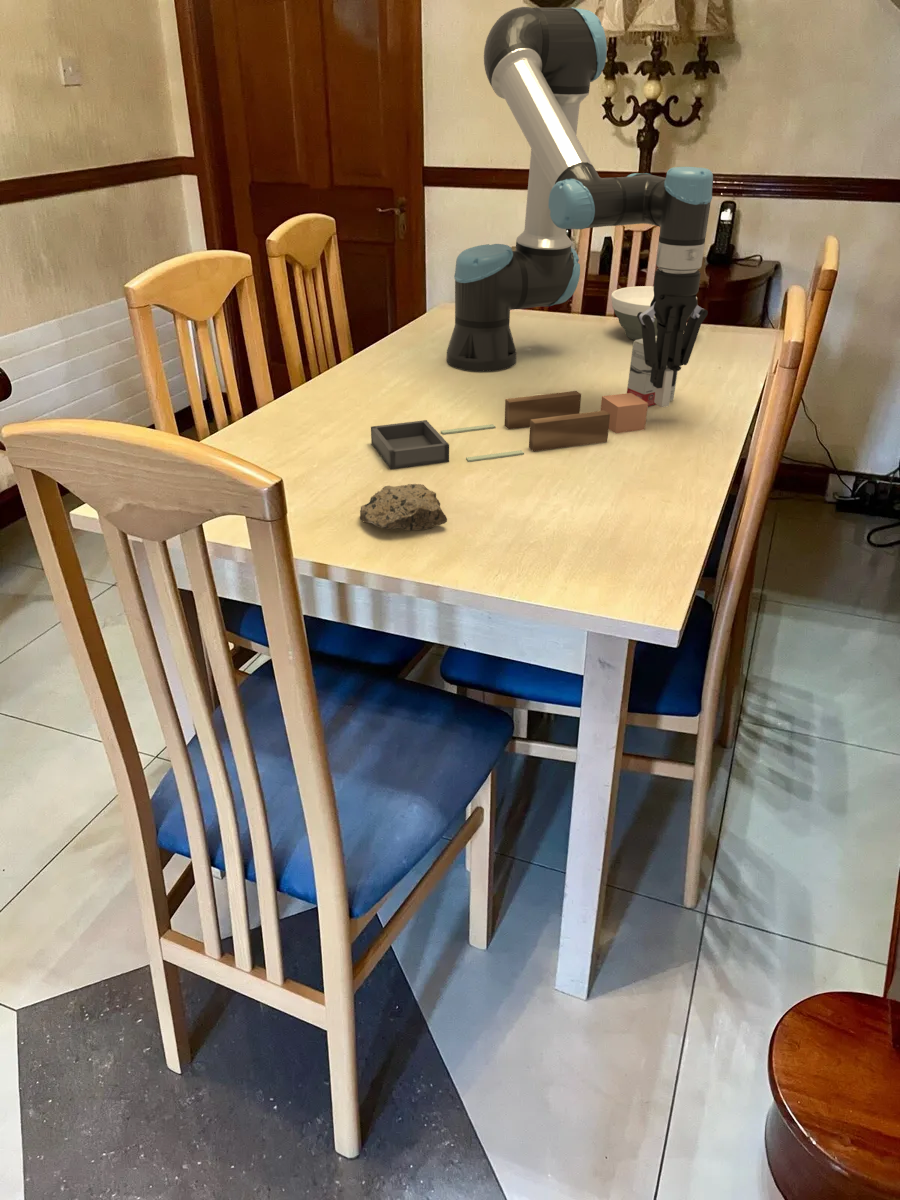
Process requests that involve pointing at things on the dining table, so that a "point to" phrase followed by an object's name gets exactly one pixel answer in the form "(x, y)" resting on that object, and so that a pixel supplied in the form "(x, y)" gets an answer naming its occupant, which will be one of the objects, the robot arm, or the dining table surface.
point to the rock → (404, 508)
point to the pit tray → (409, 444)
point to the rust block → (625, 412)
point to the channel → (556, 420)
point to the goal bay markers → (482, 457)
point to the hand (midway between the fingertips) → (661, 404)
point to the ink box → (642, 376)
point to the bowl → (632, 308)
